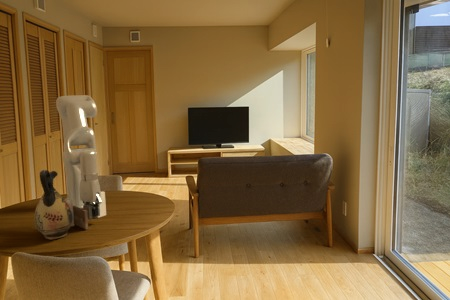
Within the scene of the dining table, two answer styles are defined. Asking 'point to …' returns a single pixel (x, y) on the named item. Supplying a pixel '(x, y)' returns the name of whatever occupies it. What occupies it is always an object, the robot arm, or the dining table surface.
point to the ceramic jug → (52, 209)
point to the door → (80, 217)
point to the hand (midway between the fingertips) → (92, 215)
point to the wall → (102, 205)
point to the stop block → (90, 210)
